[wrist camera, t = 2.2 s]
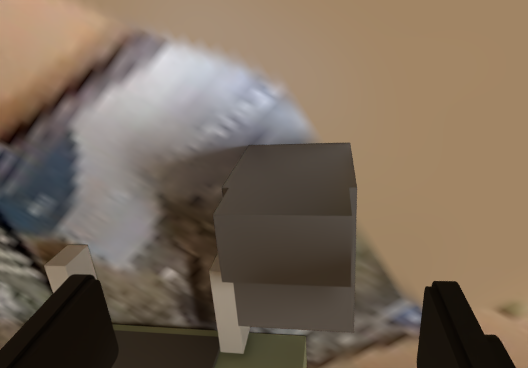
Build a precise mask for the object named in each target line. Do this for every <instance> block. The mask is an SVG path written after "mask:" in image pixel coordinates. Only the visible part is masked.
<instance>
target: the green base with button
mask: <svg viewBox="0 0 528 368" xmlns="http://www.w3.org/2000/svg"><path fill="white" fill-rule="evenodd" d="M44 267H45V270H46V273H47V276H48V279H49V282H50V285H51V288H52V291H53V293H54V292H55V291H56V290H57V289H58V288H59V287H60V286H61V285H62V284H63V283H64V282H65V281H66V279H67V278H68V277H69V276H71V275H73V274H91V275H93V276H94V277H95V279H96V280H97V277H96V273H95V270H94V266H93V263H92V259H91V255H90V252H89V248H88V245H67V246H66V247H65V248H64V249H63V250H61V251H60V252H59V253H58V254H57V255H56V256H55V257H53V258H52V259H51V260H50V261H49V262H48V263H46V264H45V265H44ZM209 275H210V281H211V288H212V295H213V302H214V309H215V316H216V322H217V329H218V331H213V330H197V329H181V328H164V327H148V326H131V325H115V324H112V325H113V329H114V332H115V336H116V339H117V343H118V347H119V352H118V357H117V359H116V361H115V363H114V364H113V366H112V368H307V358H306V336H296V335H279V334H263V333H249V330H250V327H247V326H238V319H237V310H236V302H235V294H234V285H233V283H228V282H222V279H221V271H220V264H219V256H218V254H217V256H216V258H215V260H214V262H213V264H212V266H211V268H210V270H209Z"/></svg>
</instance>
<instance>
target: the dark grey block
mask: <svg viewBox="0 0 528 368" xmlns="http://www.w3.org/2000/svg"><path fill="white" fill-rule="evenodd" d="M222 193H223V199H222V200H221V202H220V204H219V205H218V207H217V209H216V211H215V212H214V214H213V219H214V226H215V234H216V241H217V249H218V256H219V264H220V271H221V279H222V282H228V283H233V285H234V294H235V302H236V310H237V319H238V326H247V327H264V328H281V329H299V330H316V331H333V332H351V333H354V301H355V255H356V209H357V184H356V178H355V172H354V165H353V158H352V152H351V145H350V143H315V144H277V145H249V146H248V148H247V149H246V151H245V152H244V154H243V155H242V157H241V159H240V160H239V162H238V163H237V165H236V166H235V168H234V170H233V171H232V173H231V174H230V176H229V177H228V179H227V181H226V182H225V184H224V185H223V187H222Z"/></svg>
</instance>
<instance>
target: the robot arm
mask: <svg viewBox="0 0 528 368" xmlns="http://www.w3.org/2000/svg"><path fill="white" fill-rule="evenodd" d="M118 352H119V347H118V343H117V339H116V336H115V332H114V329H113V325H112V322H111V318H110V315H109V311H108V308H107V304H106V301H105V297H104V294H103V290H102V287H101V284H100V281H99V280H96V279H95V277H94V276H93V275H91V274H73V275H71V276H69V277H68V278H67V279H66V281H65V282H64V283H63V284H62V285H61V286H60V287H59V288H58V289H57V290H56V291H55V292H54V293H53V294H52V295H51V297H50V298H49V299H48V300H47V301H46V302H45V303H44V304H43V305H42V306H41V307H40V308H39V309H38V310H37V311H36V313H35V314H34V315H33V316H32V317H31V318H30V319H29V320H28V321H27V322H26V323H25V324H24V325H23V326H22V327H21V329H20V330H19V331H18V332H17V333H16V334H15V335H14V336H13V337H12V338H11V339H10V340H9V341H8V342H7V343H6V345H5V346H4V347H3V348H2V349H1V350H0V368H112V366H113V364H114V363H115V361H116V359H117V357H118ZM417 368H516V367H515V365H514V364H513V362H512V360H511V358H510V356H509V354H508V353H507V351H506V349H505V347H504V345H503V344H502V342H501V341H500V339H499V338H498V337H497V336H496V335H484V333H483V331H482V329H481V327H480V325H479V323H478V321H477V319H476V317H475V315H474V313H473V311H472V309H471V307H470V305H469V304H468V302H467V300H466V298H465V296H464V294H463V292H462V290H461V288H460V286H459V284H458V283H457V282H455V281H434V282H433V283H432V287H428V286H427V287H425V291H424V300H423V309H422V318H421V327H420V336H419V345H418V354H417Z"/></svg>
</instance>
